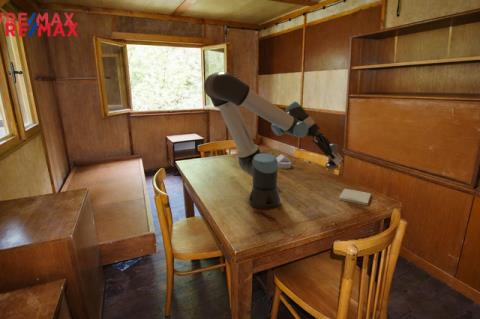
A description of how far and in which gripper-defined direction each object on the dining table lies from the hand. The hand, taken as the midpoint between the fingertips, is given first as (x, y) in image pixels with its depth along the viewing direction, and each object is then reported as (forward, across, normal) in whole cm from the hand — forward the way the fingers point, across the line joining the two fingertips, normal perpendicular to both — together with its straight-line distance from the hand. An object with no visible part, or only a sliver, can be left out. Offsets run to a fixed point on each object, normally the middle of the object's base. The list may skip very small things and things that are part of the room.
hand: (340, 162), depth 136 cm
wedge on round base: (-18, +32, +42) cm, 56 cm away
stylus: (0, 0, +5) cm, 5 cm away
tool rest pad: (+19, -1, +6) cm, 19 cm away
